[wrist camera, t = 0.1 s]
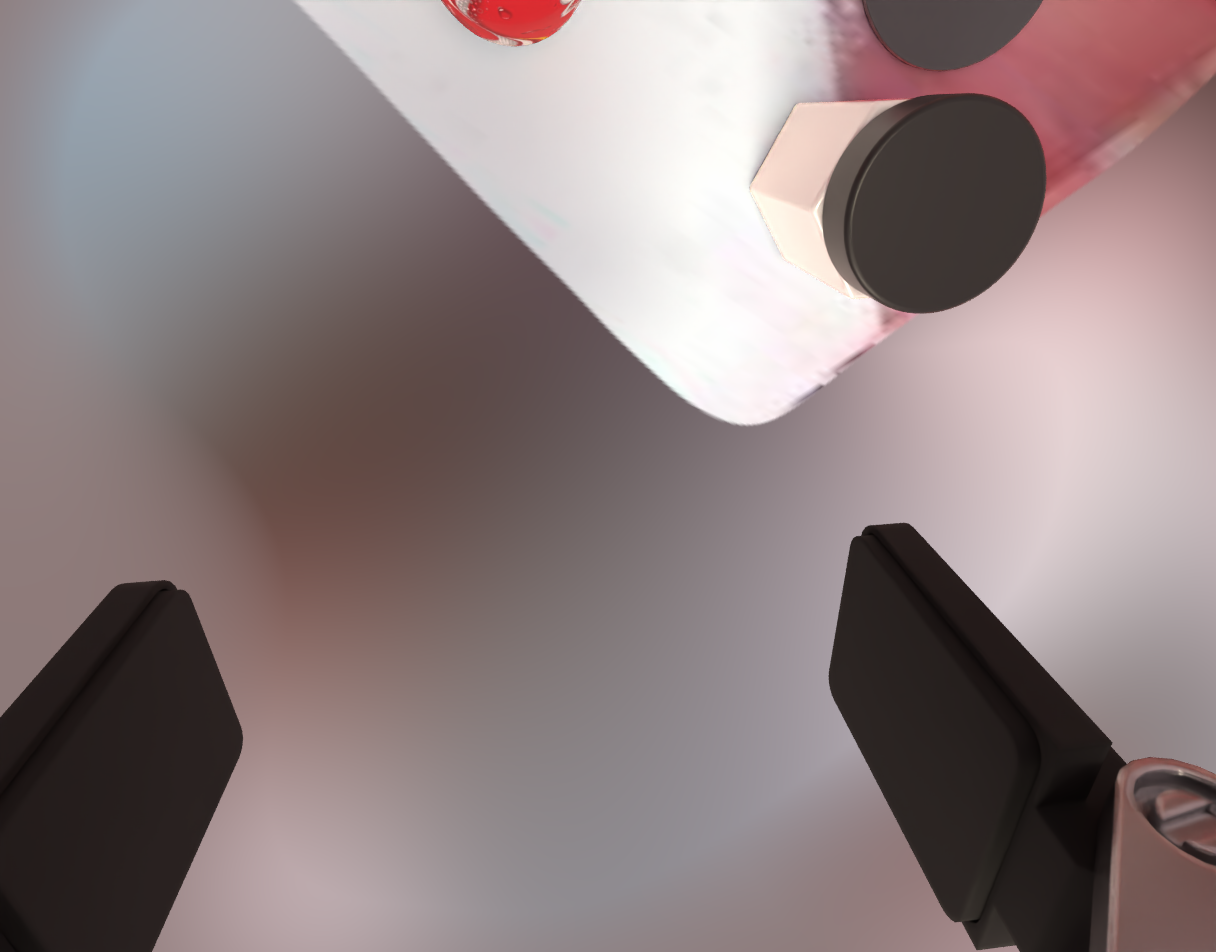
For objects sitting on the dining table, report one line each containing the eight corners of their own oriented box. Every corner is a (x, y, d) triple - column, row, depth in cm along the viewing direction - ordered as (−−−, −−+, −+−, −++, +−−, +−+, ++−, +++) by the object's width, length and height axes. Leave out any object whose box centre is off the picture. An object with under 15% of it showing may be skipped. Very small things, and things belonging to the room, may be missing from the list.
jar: (839, 291, 40) (950, 356, 30) (723, 225, 38) (799, 270, 27) (937, 140, 37) (1102, 152, 26) (817, 57, 34) (944, 34, 24)
